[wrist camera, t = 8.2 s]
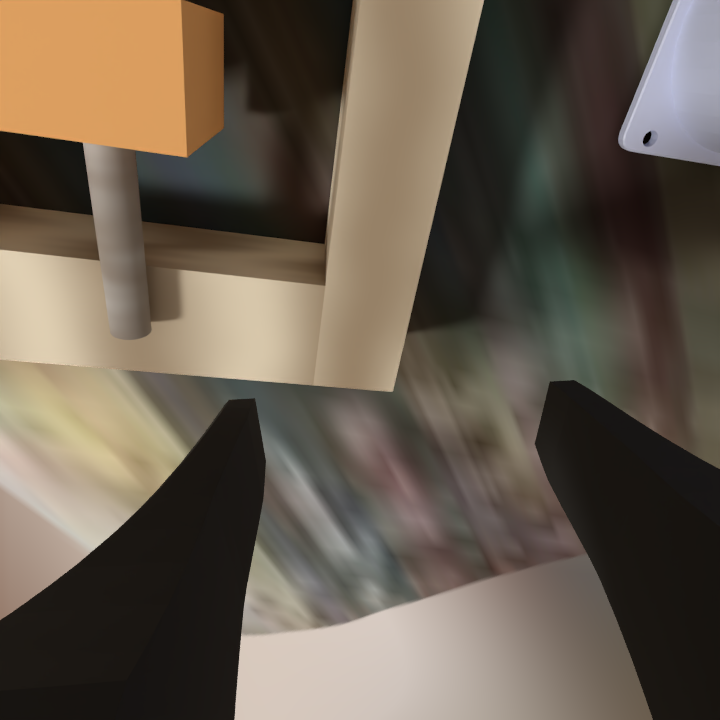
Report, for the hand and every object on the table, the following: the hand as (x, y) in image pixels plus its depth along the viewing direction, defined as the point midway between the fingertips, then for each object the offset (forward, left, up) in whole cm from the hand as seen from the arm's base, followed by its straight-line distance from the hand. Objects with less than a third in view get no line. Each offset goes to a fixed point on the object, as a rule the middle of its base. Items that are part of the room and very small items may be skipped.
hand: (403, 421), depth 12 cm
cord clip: (+8, -6, -8) cm, 13 cm away
